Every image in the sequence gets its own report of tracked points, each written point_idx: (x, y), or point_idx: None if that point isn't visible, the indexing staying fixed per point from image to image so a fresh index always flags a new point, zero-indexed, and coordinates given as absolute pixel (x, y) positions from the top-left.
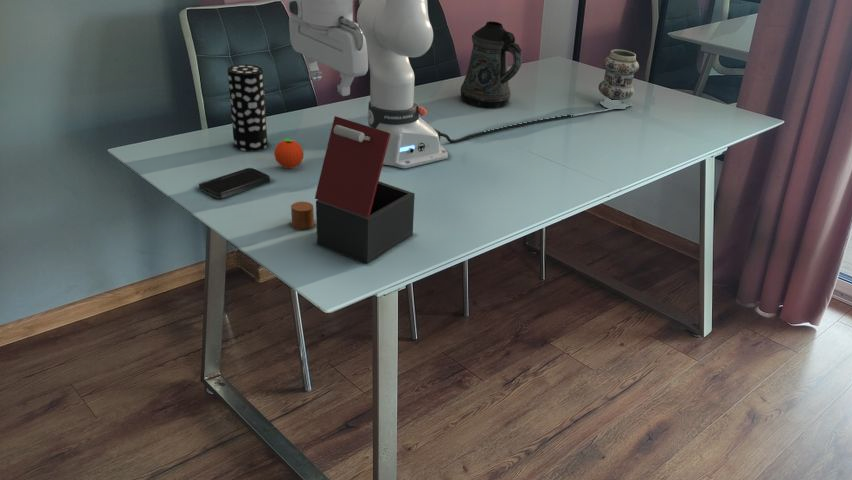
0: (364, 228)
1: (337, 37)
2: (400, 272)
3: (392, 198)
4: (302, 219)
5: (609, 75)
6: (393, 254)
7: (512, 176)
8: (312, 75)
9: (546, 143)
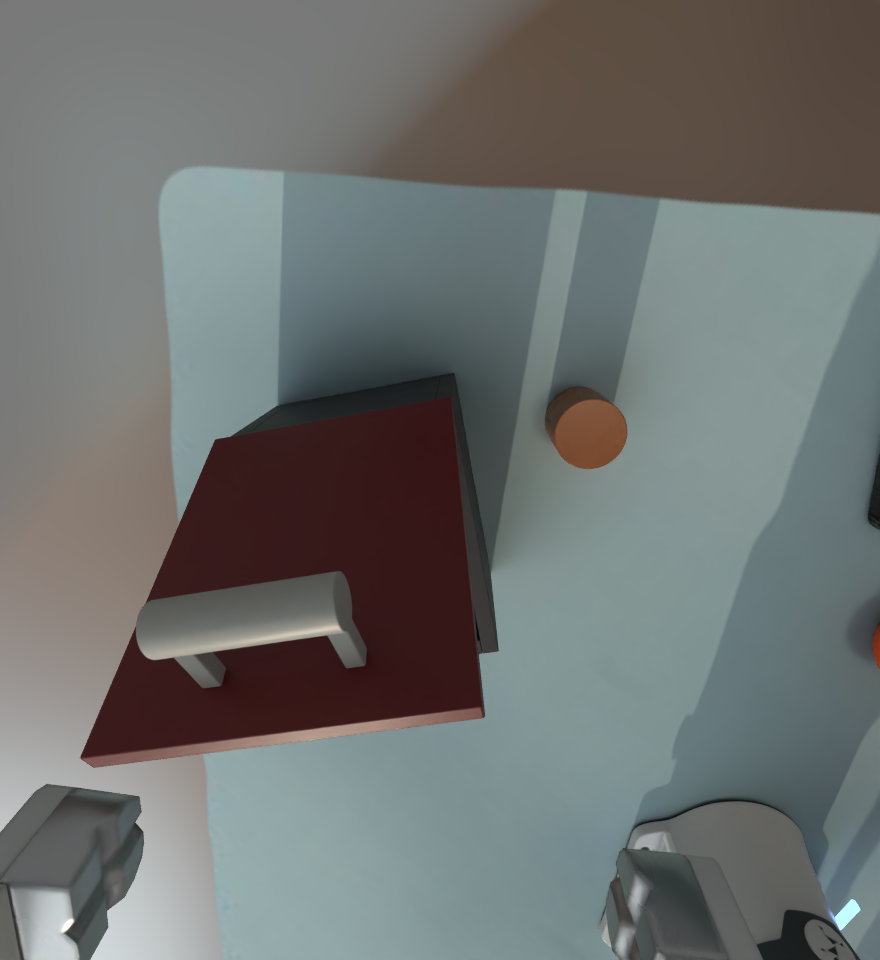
0: (250, 430)
1: None
2: (192, 442)
3: None
4: (558, 406)
5: None
6: None
7: (419, 956)
8: (664, 913)
9: None
